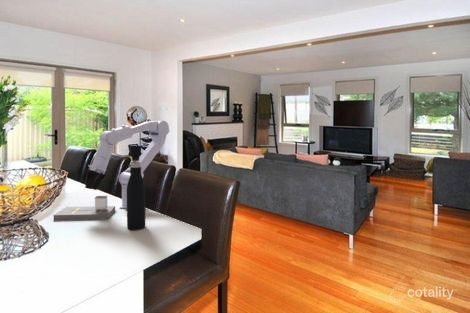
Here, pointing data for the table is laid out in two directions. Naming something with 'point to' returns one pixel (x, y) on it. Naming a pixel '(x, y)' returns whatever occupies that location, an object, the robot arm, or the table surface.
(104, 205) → the fader knob
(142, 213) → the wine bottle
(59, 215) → the fader console
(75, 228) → the table surface
